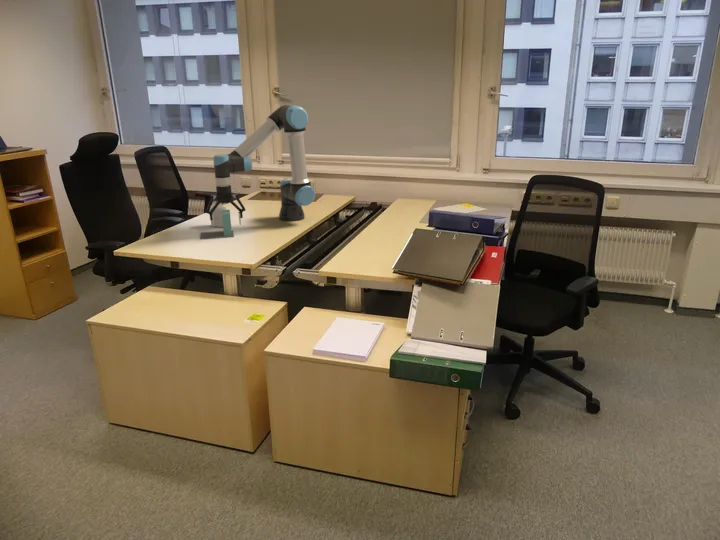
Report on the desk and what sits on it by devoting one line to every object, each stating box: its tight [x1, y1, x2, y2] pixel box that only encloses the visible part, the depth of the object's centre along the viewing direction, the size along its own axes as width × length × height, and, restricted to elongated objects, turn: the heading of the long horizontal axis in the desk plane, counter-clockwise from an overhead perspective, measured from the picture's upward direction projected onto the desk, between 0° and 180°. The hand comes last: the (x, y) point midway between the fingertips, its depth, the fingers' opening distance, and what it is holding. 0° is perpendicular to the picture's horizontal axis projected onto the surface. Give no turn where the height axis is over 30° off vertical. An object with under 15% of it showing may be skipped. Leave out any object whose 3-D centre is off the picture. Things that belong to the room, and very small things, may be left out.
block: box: [222, 209, 233, 236], centre depth 279 cm, size 4×9×12 cm, turn 15°
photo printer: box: [209, 204, 227, 228], centre depth 296 cm, size 10×4×12 cm, turn 60°
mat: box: [199, 229, 235, 240], centre depth 280 cm, size 17×13×1 cm
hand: (227, 225), depth 280 cm, fingers open, 13 cm apart
